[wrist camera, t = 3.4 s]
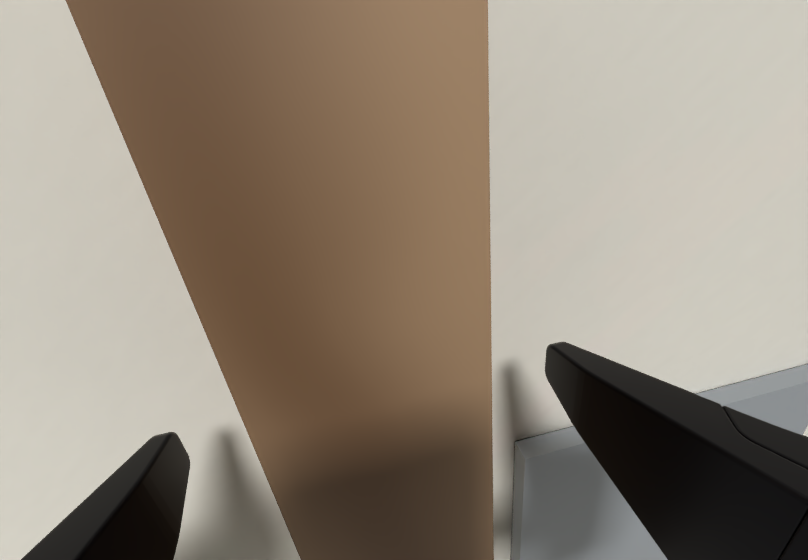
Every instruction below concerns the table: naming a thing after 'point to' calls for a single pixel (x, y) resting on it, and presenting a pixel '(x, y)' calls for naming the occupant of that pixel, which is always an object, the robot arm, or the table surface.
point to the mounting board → (596, 493)
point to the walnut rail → (329, 245)
